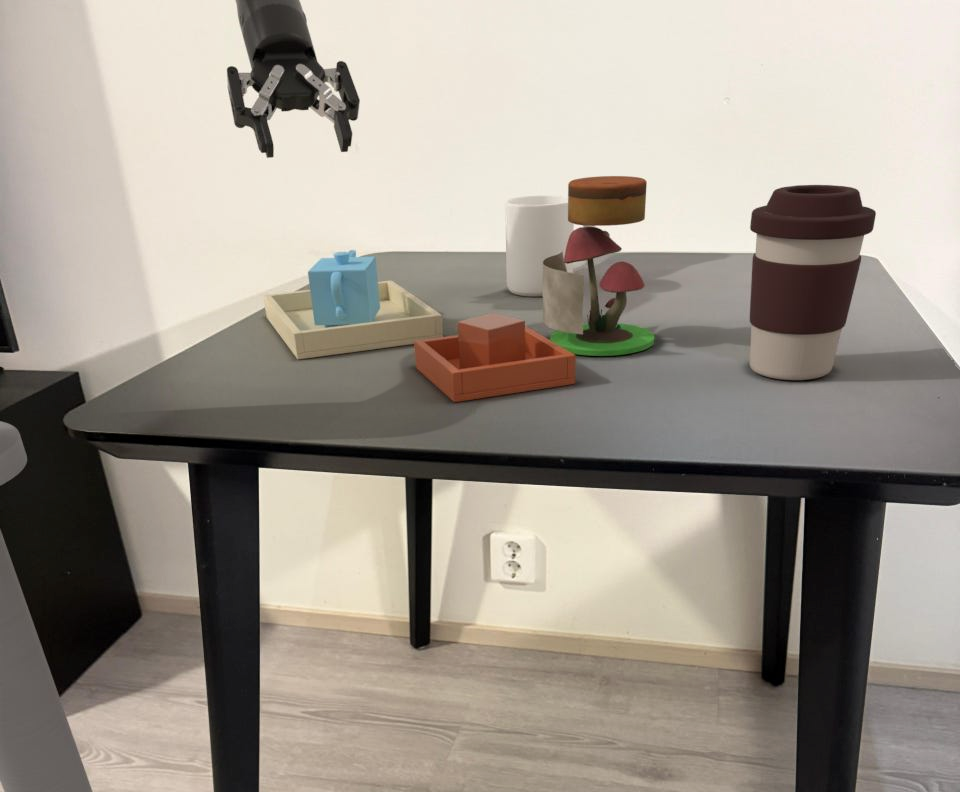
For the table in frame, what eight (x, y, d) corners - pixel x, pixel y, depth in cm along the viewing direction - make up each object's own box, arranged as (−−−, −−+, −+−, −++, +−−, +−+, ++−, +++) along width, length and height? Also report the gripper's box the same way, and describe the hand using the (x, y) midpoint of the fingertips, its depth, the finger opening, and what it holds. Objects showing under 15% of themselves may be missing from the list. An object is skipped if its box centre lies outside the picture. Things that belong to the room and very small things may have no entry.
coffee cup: (838, 355, 88) (868, 180, 80) (855, 387, 80) (891, 196, 71) (731, 354, 89) (750, 182, 81) (737, 385, 81) (759, 198, 73)
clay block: (490, 379, 84) (488, 329, 81) (459, 369, 86) (457, 321, 84) (525, 368, 86) (525, 320, 83) (494, 359, 89) (493, 312, 86)
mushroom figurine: (627, 321, 101) (634, 169, 93) (678, 350, 91) (691, 182, 83) (525, 332, 99) (523, 177, 91) (565, 364, 89) (567, 192, 81)
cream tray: (297, 359, 93) (293, 333, 92) (266, 317, 109) (263, 294, 108) (443, 340, 98) (441, 314, 96) (393, 302, 113) (391, 280, 112)
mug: (581, 277, 122) (583, 191, 116) (610, 289, 115) (614, 198, 109) (496, 287, 118) (494, 199, 113) (522, 300, 112) (521, 207, 106)
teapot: (333, 310, 108) (325, 242, 104) (385, 309, 108) (378, 240, 104) (313, 337, 98) (303, 262, 94) (369, 336, 98) (362, 261, 94)
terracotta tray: (454, 402, 80) (452, 372, 79) (415, 367, 90) (413, 340, 88) (575, 383, 83) (575, 355, 82) (526, 352, 93) (525, 325, 91)
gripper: (333, 55, 112) (366, 169, 109) (214, 60, 108) (245, 178, 105) (337, -1, 105) (373, 119, 102) (210, 2, 101) (243, 128, 98)
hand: (308, 149), depth 104 cm, fingers open, 8 cm apart
